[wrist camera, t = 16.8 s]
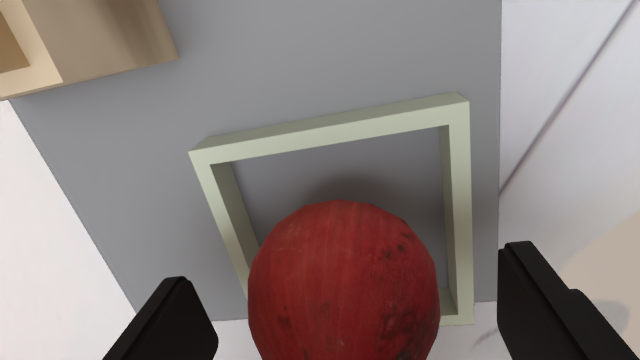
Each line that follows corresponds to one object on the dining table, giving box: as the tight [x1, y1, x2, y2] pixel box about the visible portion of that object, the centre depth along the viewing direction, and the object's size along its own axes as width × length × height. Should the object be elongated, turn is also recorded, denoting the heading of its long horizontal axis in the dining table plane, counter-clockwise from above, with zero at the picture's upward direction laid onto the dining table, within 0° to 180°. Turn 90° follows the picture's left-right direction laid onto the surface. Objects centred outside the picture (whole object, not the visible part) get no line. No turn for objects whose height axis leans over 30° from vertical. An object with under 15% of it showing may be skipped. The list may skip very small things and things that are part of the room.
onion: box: [248, 199, 441, 360], centre depth 10 cm, size 6×6×8 cm
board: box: [8, 0, 502, 322], centre depth 12 cm, size 22×18×1 cm
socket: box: [188, 92, 474, 327], centre depth 13 cm, size 9×9×2 cm
